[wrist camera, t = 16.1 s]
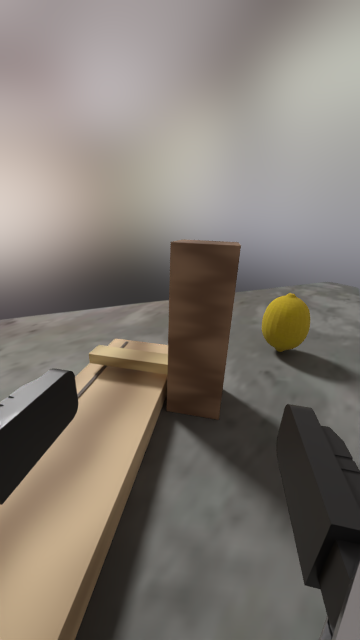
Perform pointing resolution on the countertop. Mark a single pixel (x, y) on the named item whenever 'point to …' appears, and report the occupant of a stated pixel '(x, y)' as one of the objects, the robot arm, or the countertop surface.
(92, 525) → the board
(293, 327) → the lemon
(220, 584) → the countertop surface
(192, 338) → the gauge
